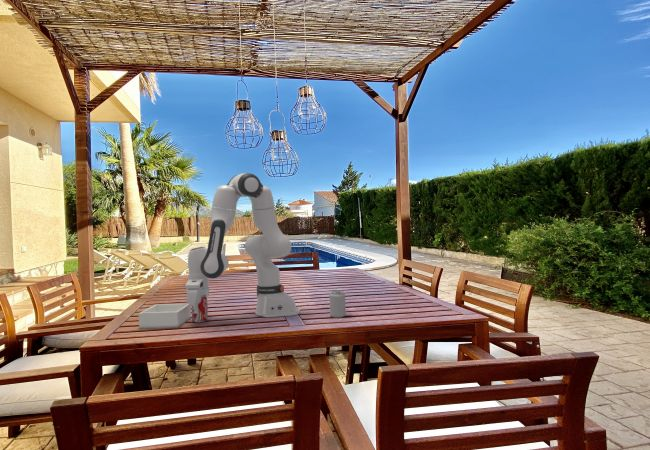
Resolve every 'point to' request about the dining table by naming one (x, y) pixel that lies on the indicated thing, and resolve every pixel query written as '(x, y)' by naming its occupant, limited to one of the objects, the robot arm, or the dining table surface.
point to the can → (337, 304)
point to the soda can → (201, 311)
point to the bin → (164, 316)
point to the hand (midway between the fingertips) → (199, 310)
